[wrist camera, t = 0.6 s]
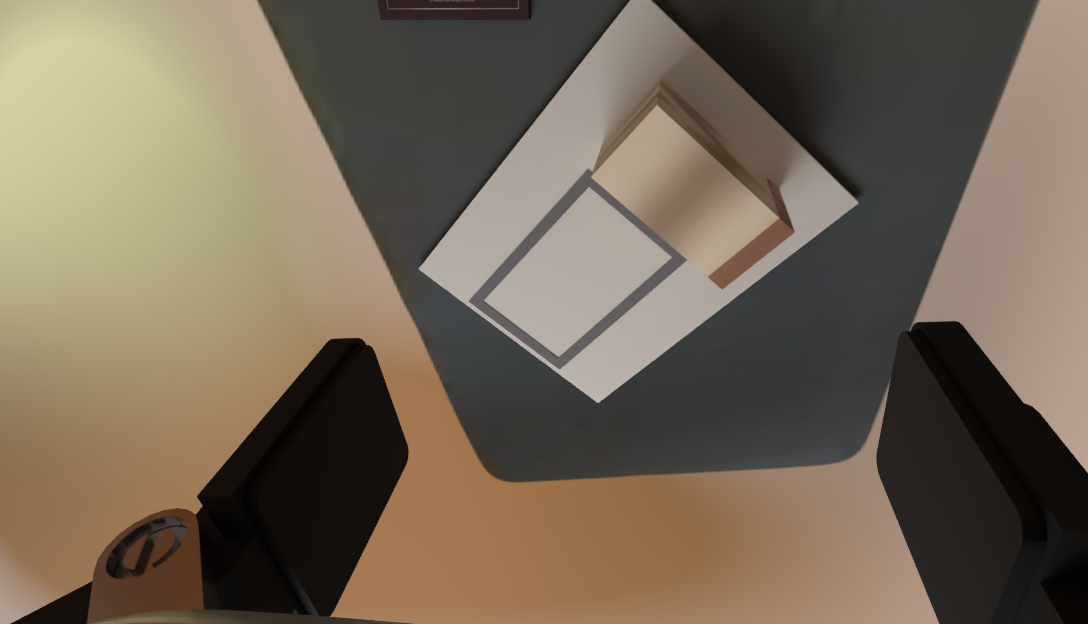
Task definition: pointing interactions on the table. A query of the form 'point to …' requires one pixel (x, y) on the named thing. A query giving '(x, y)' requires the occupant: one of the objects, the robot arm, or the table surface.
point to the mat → (614, 214)
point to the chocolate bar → (454, 9)
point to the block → (692, 186)
